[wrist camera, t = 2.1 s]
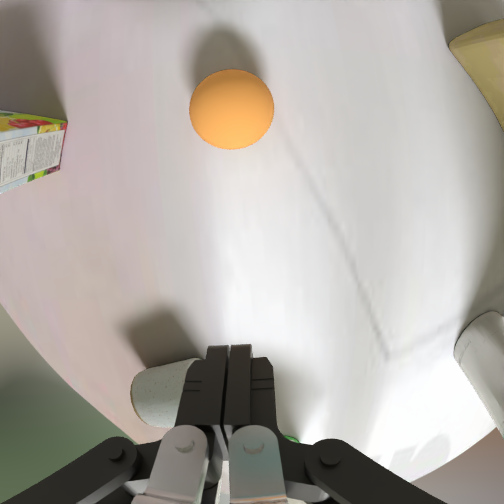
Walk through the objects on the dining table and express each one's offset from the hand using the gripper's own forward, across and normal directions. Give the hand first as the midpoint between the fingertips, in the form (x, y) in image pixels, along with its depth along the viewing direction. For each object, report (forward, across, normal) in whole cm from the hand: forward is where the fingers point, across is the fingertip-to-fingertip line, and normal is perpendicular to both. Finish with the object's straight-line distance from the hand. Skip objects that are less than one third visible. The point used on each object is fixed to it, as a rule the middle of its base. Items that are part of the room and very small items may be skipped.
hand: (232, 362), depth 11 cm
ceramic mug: (+17, +9, +19) cm, 27 cm away
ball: (+14, 0, -10) cm, 17 cm away
